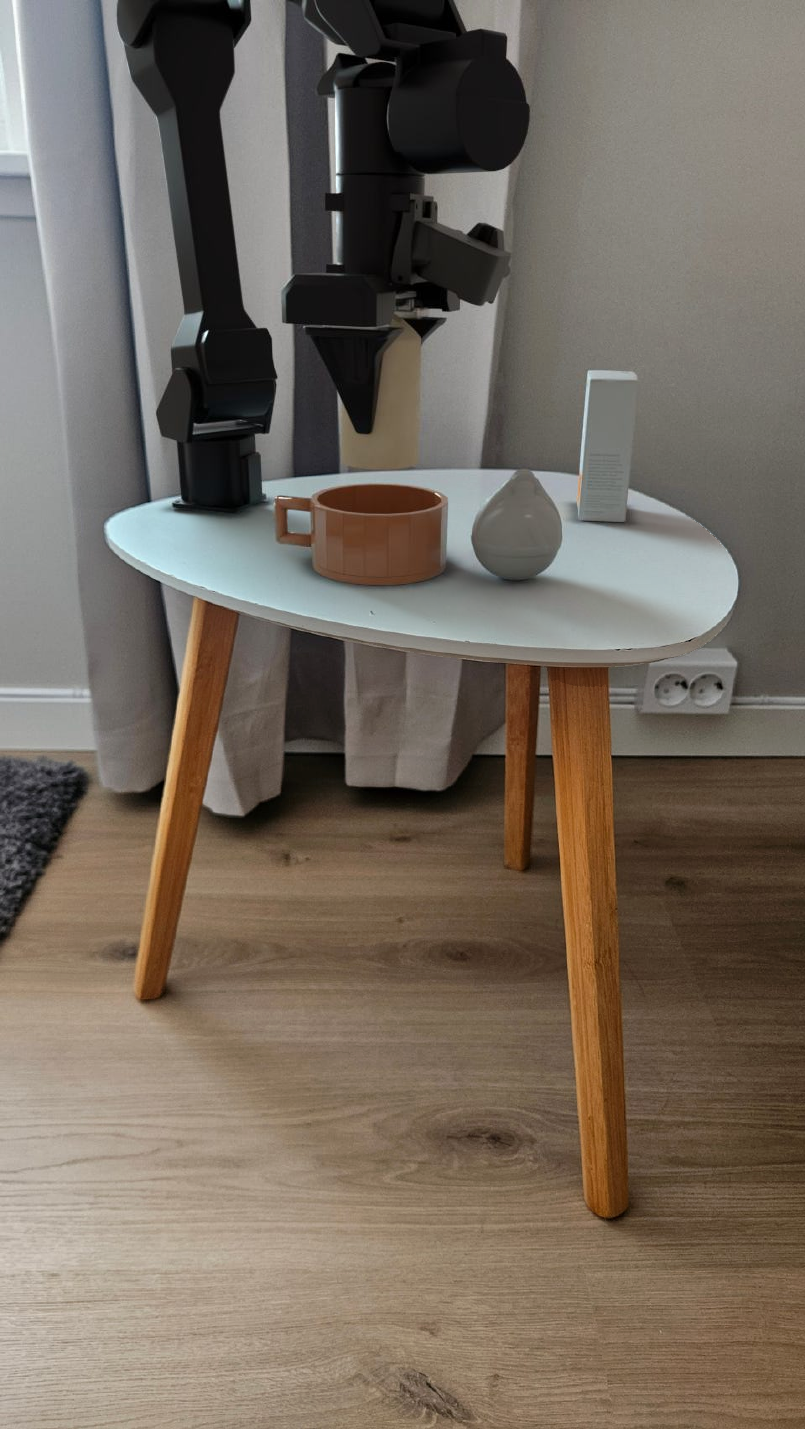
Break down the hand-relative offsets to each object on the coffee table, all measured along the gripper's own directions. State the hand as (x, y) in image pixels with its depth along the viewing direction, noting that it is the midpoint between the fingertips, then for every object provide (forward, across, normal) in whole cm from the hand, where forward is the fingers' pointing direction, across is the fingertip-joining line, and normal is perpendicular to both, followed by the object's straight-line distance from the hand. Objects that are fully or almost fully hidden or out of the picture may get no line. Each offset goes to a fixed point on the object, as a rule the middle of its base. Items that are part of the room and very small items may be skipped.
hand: (378, 427), depth 71 cm
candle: (+3, 0, 0) cm, 3 cm away
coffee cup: (+10, 0, +2) cm, 10 cm away
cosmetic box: (+10, +22, -13) cm, 28 cm away
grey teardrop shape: (+10, +1, -10) cm, 14 cm away
